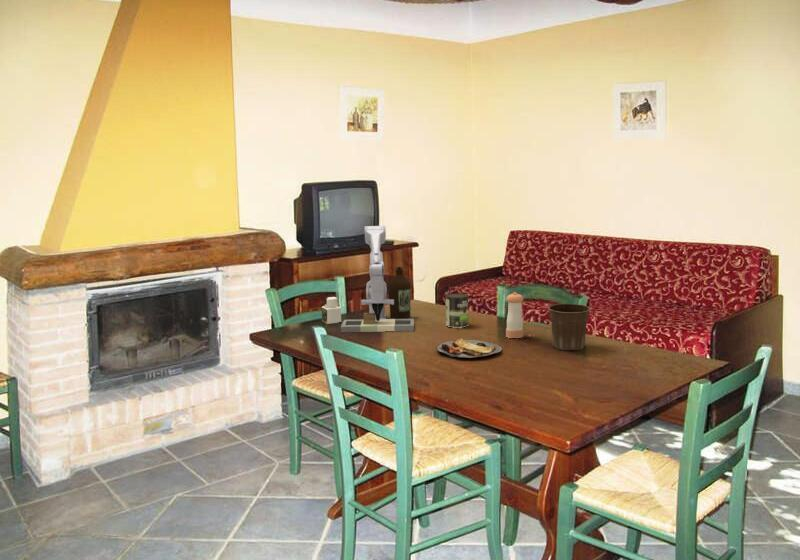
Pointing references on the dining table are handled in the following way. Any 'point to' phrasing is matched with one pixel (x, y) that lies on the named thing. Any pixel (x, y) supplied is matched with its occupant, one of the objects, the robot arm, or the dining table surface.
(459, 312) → the coffee can
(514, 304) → the pepper shaker
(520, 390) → the dining table surface
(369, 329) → the trap lane
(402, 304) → the olive oil
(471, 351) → the food plate
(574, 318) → the plant pot
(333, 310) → the medicine bottle
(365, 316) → the walnut block
